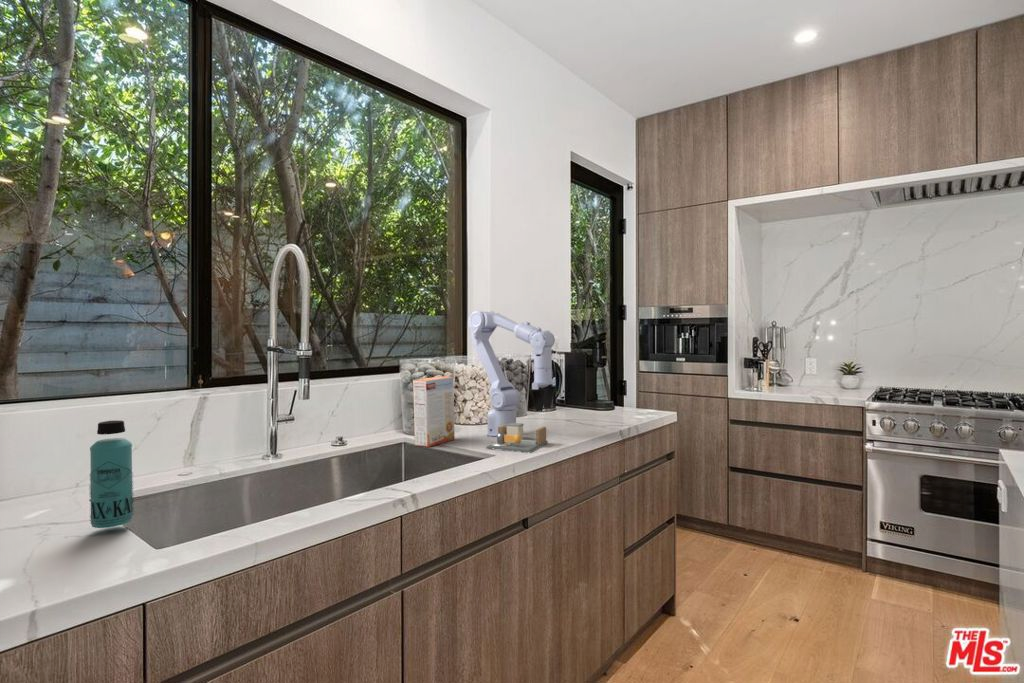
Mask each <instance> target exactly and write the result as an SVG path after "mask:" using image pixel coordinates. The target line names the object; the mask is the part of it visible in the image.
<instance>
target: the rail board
mask: <svg viewBox="0 0 1024 683" xmlns="http://www.w3.org/2000/svg"><path fill="white" fill-rule="evenodd" d="M498 433H505V435H506V434H507V426H506V424H505V425H503V426H500V427H498ZM510 443H511V445H509V446H502V447H499V446H492V445H491V444H489V445H486V449H487V448H494V449H502V450H501V451H505V450H513V451H512V452H517V451H524V452H523V453H528V452H530V451H531V452H533V451H535V450H537V449H539V448H540V446H541V447H542V445H543V446H544V444H545V443H547V444H548V440H547V426H542V427H540V428H538V429H537V428H536V430H535V436H529V435H527V436H526V435H523V439H522V440H521V443H519V444H517V443H512V442H510ZM545 445H546V444H545ZM538 447H539V448H538ZM536 448H537V449H536ZM534 449H535V450H534ZM532 450H533V451H532ZM531 452H530V453H531Z"/></svg>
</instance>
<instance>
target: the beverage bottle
mask: <svg viewBox="0 0 1024 683" xmlns="http://www.w3.org/2000/svg"><path fill="white" fill-rule="evenodd" d="M125 432H126V427H125V421H124V420H106V421H100V422H98V424H97V432H96V434H97V435H102V436H103V435H105V436H106V435H115V434H121V433H125ZM89 450H90V451H89V452H90V473H89V476H88V477H89V482H90V484H89V488H88V489H89V495H88V496H89V502H90V516H89V522H90V524H91V527H92V528H94V529H106V528H113V527H118V526H122V525H125V524H127V523H130V522H131V521H132V519H133V516H134V512H135V511H134V509H135V507H134V506H135V504H134V503H135V502H134V501H135V500H134V498H135V497H134V493H133V491H134V482H133V452H132V451H133V444H132V442H131V441H130V440H128V439H127V438H124V437H113V438H104V439H99V440H96V441H95V442H94V443H93V444H92V445H91V446H90V447H89Z"/></svg>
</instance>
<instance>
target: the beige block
mask: <svg viewBox="0 0 1024 683" xmlns="http://www.w3.org/2000/svg"><path fill="white" fill-rule="evenodd" d="M506 426H507V435H514V436H515V435H517V434H519V435H521V440H522V439H523V436H524V426H525V424H524V423H519V422H518V423H517V422H516V423H509V424H506Z"/></svg>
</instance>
